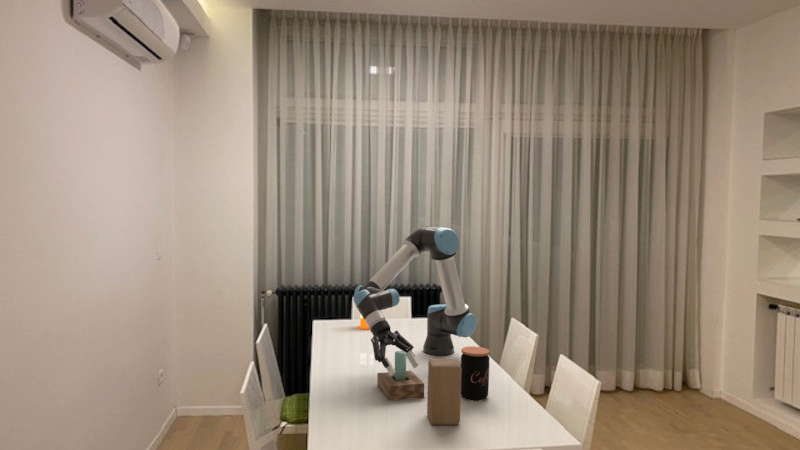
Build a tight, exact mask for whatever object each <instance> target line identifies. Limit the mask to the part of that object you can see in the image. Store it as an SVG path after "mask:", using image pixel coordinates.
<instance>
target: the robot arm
mask: <svg viewBox="0 0 800 450" xmlns="http://www.w3.org/2000/svg"><path fill="white" fill-rule="evenodd" d="M459 246H460V239H459V236H458V233H456V231H455V230H453V229H452V228H448V227H444V226H429V225H427V226H422V227H419V228H418V229H416V230H414V231H413V232H412V233H410V234H409V235H408V236H407V237H405V238H404V240H403V241H402V246H400V247H399V249H398V250H396V252H395V253H394V254H393V255H392V256H391V257H390V258H389V259H388V260H387V261H386V263H385V264H383V266H381V268H380V269H379V270H378V271H377V272H376V273H375V274H374V275H373V276H372V277H371V278H370V279H369V280H368V281H367V282H366V283H365V284H361V285H358V286H357V287H356V288H355V290H354V292H353V293H354V294H353V299H352V300H353V303H354V305H355V307H356V309H357V311H358V313H360V316H361V315H362V317H363V318H364V320H365V322H366V323H367V325H368V327H369V328H370V333H371V334H372V336H373V337H371V338H370V341H371V344H372V348H373V355H374V360H375V362H378V363H381V364H382V365H383V367H384V368H385V369H386V370H387V372H389V374H390V376H392V375H393V374H394V373H395V372H396V371H395V367H394V366H393V365H392V362H391V361H390V359H389V358H388V357H387V356H386V351H387V350H386V349H387V346H395V347H396V348H398V349H399V350H400V351H405V352H406V359H407V360H408V361H409V363H410V364H411V366H412V367H413V369H416V368H417V367H419V365H420V364H419V361H418V360H417V359H416V356H415V354H414V352H413V350H414V346H413V344H411V343H410V342H409V341H408V340H407V339H406V338H405V337H404V336H403V335H401V333H400V332H399V330H395V331H394V332H392V330H391V326H390V324H389V322H388V320H387V319H386V317H385V315H384V314H383V312H382V311H383V310H387V309H390V308H393V307H395V306H398V305H399V303H400V300H401V299H400V294H399V291H398V290H396V289H395V288H387V287H388V286H389V285H390V284H391V283H392V281H394V279H395V278H396V277H398V275H399V274H400V273H401V272H402V271H403V270H404V269H405V267H406V266H408V265H409V263H411V261H412V260H413V259H414V258H417V257H419V255H421V254H422V253H425V252H428V253H430V257H431V260H433V261H434V262H435V265H436V268H437V273H438V277H439V282H440V286H441V289H442V293H443V297H444V302H445V304H443V303H440V304H432V305H429V306H428V308H427V314H426V316H427V318H426V327H427V328H426V330H427V332H426V338H425V340H424V342H423V346H422V347H423V348H422V351H423V352H424V353H425V354H428V355H433V356H447V355H448V356H449V355H452V354H453V353H454V352H455V346H454V342H453V339H452V336H451V335H453V336H457V337H459V338H468V337H470V336H472V335H473V333H474V332H475V330H476V328H477V324H478V319H477V315H475V314H473V313H471V312H470V307H469V305H468V304H467V303H465V301H464V300H465V299H464V296H463V291H462V286H461V282H460V277H459V273H458V269H457V266H456V260H455V256H456V255H457V251H458V249H459ZM386 288H387V289H386Z"/></svg>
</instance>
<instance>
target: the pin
mask: <svg viewBox="0 0 800 450" xmlns="http://www.w3.org/2000/svg"><path fill="white" fill-rule="evenodd" d="M406 354H407V353H406V352H405V351H402V350H397V351H395V352H394V370H395V371H396V372H395V381H403V380H406V371H407V356H406Z"/></svg>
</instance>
